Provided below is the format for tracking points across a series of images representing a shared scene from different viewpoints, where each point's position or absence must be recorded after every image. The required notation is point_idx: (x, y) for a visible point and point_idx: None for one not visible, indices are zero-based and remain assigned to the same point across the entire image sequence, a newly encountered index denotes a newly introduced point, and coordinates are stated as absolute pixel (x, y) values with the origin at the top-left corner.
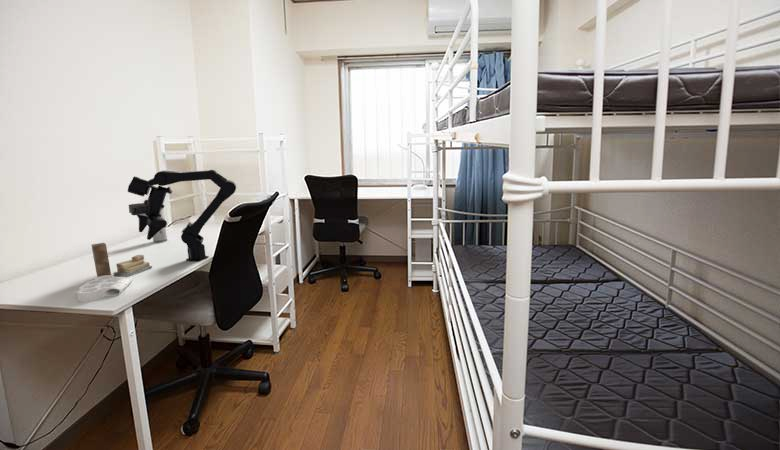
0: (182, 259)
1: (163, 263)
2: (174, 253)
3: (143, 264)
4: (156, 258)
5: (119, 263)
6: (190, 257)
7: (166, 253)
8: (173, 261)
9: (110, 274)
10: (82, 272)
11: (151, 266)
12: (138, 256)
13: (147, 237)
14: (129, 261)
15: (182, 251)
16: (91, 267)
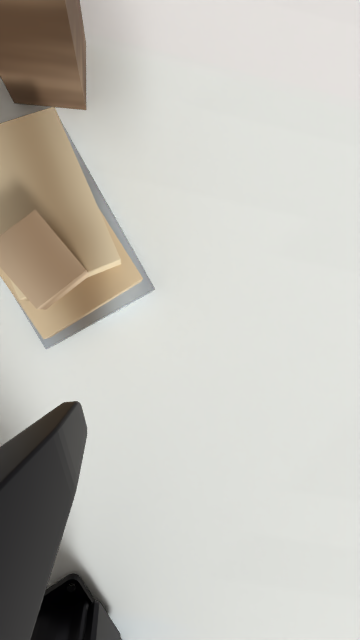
0: (124, 552)
1: (116, 430)
2: (317, 532)
3: (13, 294)
4: (276, 417)
5: (44, 127)
6: (44, 618)
7: (352, 490)
8: (118, 493)
9: (5, 84)
10: (272, 14)
11: (46, 347)
12: (15, 262)
13: (50, 416)
14: (47, 200)
15: (330, 584)
16: (346, 78)
